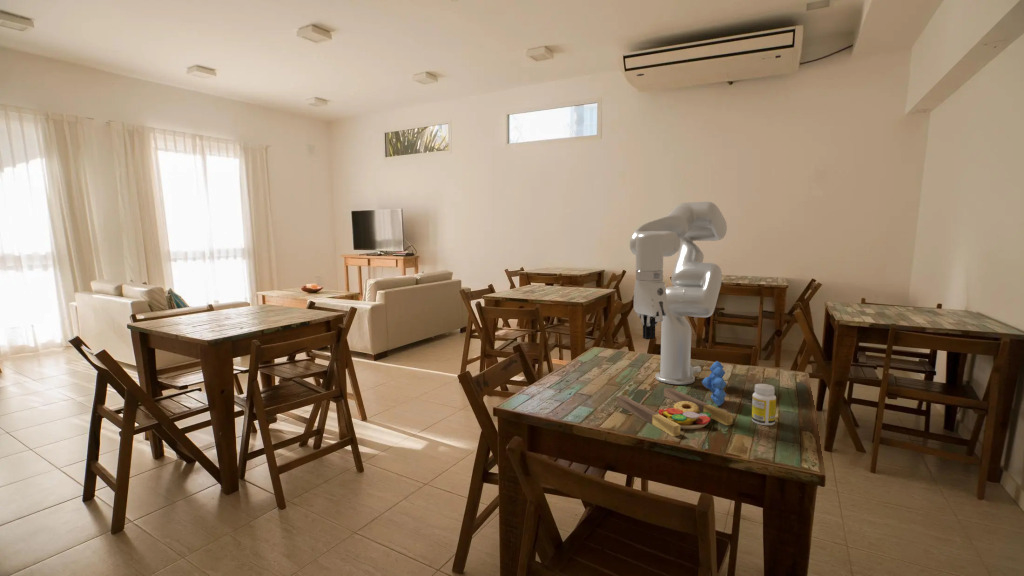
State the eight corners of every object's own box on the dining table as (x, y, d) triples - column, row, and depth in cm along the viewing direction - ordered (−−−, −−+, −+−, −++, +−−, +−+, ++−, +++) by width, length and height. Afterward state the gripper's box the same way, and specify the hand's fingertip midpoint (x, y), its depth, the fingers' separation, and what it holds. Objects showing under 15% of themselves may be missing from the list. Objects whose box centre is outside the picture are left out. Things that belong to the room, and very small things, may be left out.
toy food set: (689, 409, 133) (689, 398, 132) (722, 427, 120) (723, 415, 120) (647, 415, 129) (648, 404, 129) (678, 434, 116) (678, 422, 116)
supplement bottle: (771, 418, 125) (773, 383, 124) (778, 426, 120) (779, 390, 119) (749, 417, 126) (750, 382, 125) (754, 425, 121) (756, 388, 120)
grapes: (698, 395, 144) (699, 356, 143) (721, 396, 142) (723, 357, 141) (704, 408, 133) (705, 367, 131) (729, 410, 131) (731, 368, 130)
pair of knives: (669, 395, 144) (669, 387, 144) (732, 424, 122) (732, 414, 121) (616, 404, 137) (616, 396, 137) (673, 436, 115) (673, 426, 114)
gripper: (677, 277, 130) (677, 342, 132) (643, 272, 143) (643, 331, 146) (655, 279, 127) (655, 346, 129) (622, 274, 141) (623, 334, 143)
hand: (648, 338), depth 138 cm, fingers closed
